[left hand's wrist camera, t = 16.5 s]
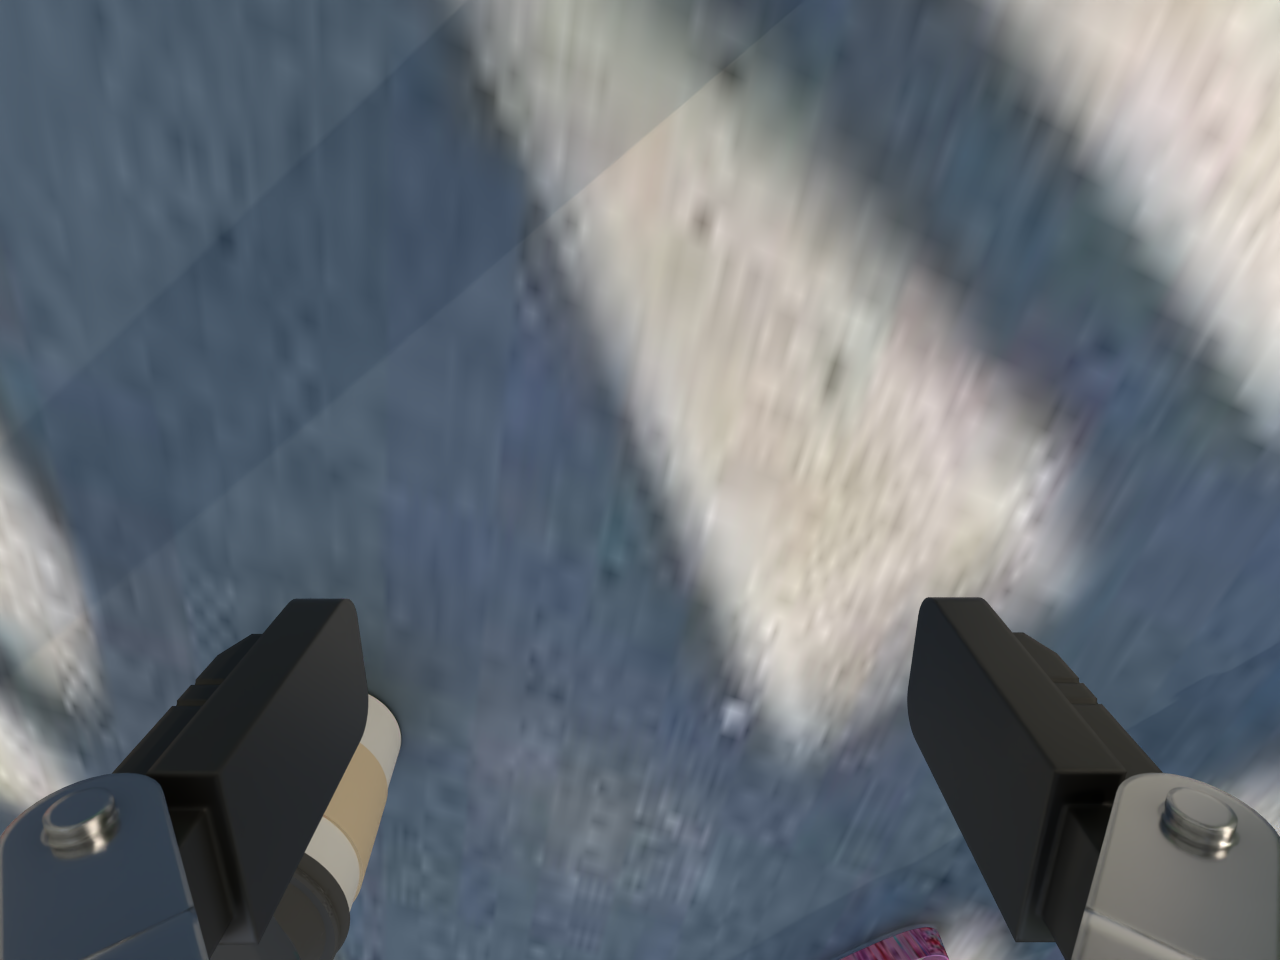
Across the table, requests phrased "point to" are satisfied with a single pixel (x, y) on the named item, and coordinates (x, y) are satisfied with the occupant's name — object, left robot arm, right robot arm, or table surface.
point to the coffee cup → (332, 856)
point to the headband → (905, 947)
